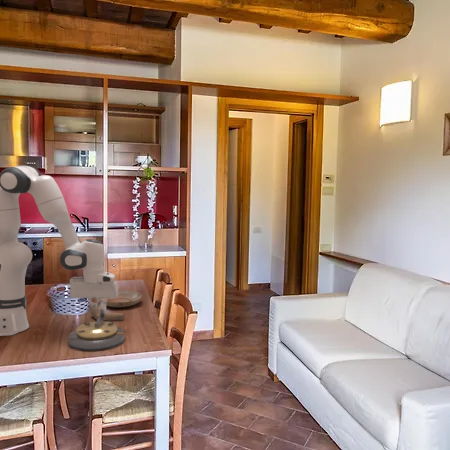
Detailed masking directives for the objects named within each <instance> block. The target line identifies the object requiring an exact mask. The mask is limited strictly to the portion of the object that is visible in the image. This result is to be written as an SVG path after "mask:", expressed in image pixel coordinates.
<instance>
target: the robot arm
mask: <svg viewBox="0 0 450 450" xmlns="http://www.w3.org/2000/svg"><path fill="white" fill-rule="evenodd" d="M27 193H29V194H30V195H31V196H32V197H33V199H34V201H35V204H36V206H37V209H38V212H39V213H40V215H41V216H42V218H43V220H45V221H46V222H48V223H49V224H51V225H53V226H54V227H56V228H57V230H58V232H59V235H60V236H61V239H62V241H63V243H64V246H65V249H64V250H63V251H62V252H61V254H60V256H59V263H60V265H61V266H62V268H64V270H68V271H73V270H74V271H75V270H79V269H83V270H82V271H83V276H80V275H79V276H72V277H71V278H70V279H69V286H70V288H69V289H70V290H69V297H70V298H71V299H87V301H88V303H89V304H90V308H91V309H92V308H98V304H99V301H100V299H101V298H116V297H117V296H118V290H119V286H118V283H117V281H116V280H115V279H116V275H115V274H114V273H112V272H109V271H108V272H107V271H106V270H105V264H104V263H105V247H104V244H103V242H102V241H101V240H98V239H94V238H87V239H85V240H84V241H81V240H80V238H79V236H78V234H77V232H76V230H75V227H74V224H73V223H72V220H71V217H70V214H69V211H68V207H67V203H66V201H65V198H64V195H63V192H62V191H61V189H60V187H59V185H58V183H57V182H56V180H55V179H54V177H52V176H51V175H48V174H47V175H46V174H43V175H42V174H41V171H40V170H39V169H38V168H36V167H34V166H32V165H16V166H10V167H7V168H4V169H3V170H1V172H0V337H1V336H2V337H5V336H14V335H16V334H18V333H20V332H21V333H22V332H23V331H26V330H27V329H28V328H30V325H29V321H28V316H27V311H26V310H27V297H26V296H27V295H26V294H25V293H26V291H25V290H26V288H25V286H26V284H25V281H26V279H25V278H26V274H27V269H28V266H29V264H30V263H31V261H32V259H33V252H32V250H31V249H30V247H29V246H27V245H26V244H24V243H23V242H20V241H19V240H18V237H19V231H20V228H21V227H22V223H21V222H22V221H21V219H22V218H21V213H20V203H19V197H20V195H21V194H27ZM93 299H96V302H93Z"/></svg>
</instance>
